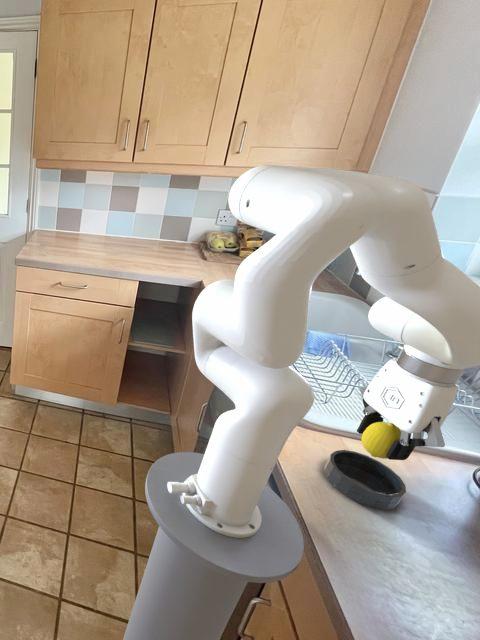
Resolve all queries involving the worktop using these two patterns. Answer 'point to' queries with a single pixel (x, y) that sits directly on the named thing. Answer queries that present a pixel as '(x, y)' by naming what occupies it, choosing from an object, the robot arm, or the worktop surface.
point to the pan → (364, 479)
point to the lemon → (380, 438)
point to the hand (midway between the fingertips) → (380, 444)
